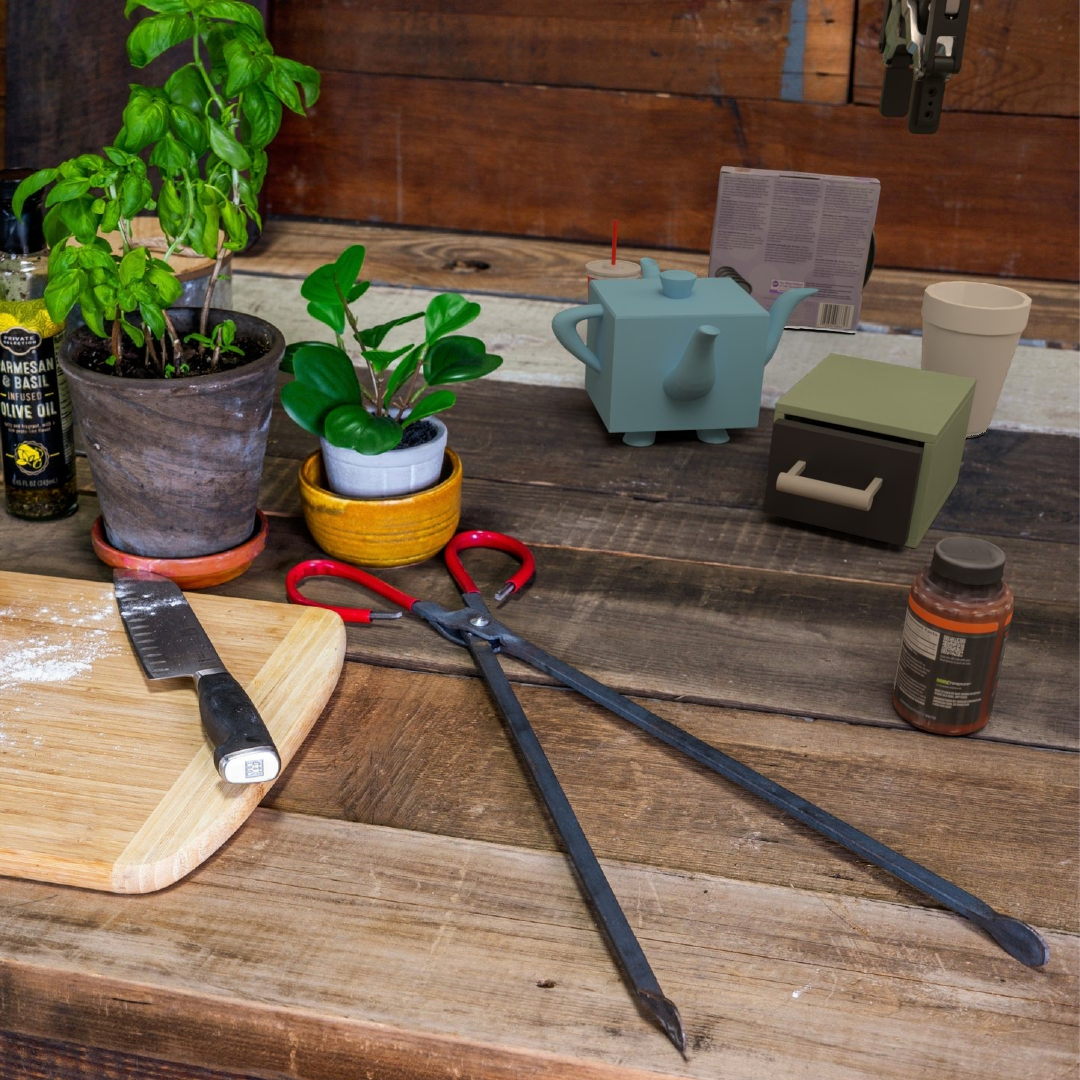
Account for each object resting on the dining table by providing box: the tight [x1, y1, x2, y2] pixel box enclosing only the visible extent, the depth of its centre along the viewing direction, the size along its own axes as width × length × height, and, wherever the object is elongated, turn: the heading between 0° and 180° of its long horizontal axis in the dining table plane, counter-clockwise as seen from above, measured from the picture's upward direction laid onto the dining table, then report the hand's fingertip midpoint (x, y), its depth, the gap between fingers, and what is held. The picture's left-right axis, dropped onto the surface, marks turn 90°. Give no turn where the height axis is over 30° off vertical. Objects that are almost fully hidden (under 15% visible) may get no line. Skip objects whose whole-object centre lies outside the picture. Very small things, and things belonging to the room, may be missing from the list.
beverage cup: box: [584, 219, 642, 298], centre depth 138 cm, size 6×6×14 cm
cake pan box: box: [707, 165, 882, 330], centre depth 146 cm, size 19×5×18 cm, turn 80°
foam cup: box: [920, 280, 1033, 437], centre depth 119 cm, size 10×9×13 cm
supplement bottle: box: [892, 535, 1015, 736], centre depth 75 cm, size 6×6×11 cm
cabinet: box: [763, 352, 977, 549], centre depth 104 cm, size 15×13×10 cm
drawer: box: [762, 416, 925, 547], centre depth 100 cm, size 18×11×8 cm, turn 151°
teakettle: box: [551, 256, 819, 447], centre depth 117 cm, size 19×19×15 cm
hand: (906, 124), depth 97 cm, fingers open, 8 cm apart
